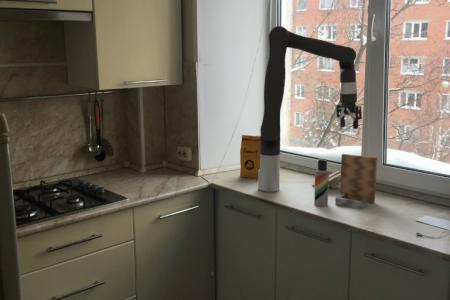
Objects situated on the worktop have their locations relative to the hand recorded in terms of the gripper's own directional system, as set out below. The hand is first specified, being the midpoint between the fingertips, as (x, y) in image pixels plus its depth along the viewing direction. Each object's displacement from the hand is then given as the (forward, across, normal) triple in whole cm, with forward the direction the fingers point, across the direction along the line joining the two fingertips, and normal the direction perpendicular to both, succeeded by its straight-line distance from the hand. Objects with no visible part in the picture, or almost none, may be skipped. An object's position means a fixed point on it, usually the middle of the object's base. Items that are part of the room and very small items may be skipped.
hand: (349, 127), depth 241 cm
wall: (+30, -10, -6) cm, 32 cm away
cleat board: (+30, +15, -12) cm, 36 cm away
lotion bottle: (+29, +10, -26) cm, 40 cm away
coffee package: (+27, -46, -26) cm, 59 cm away
